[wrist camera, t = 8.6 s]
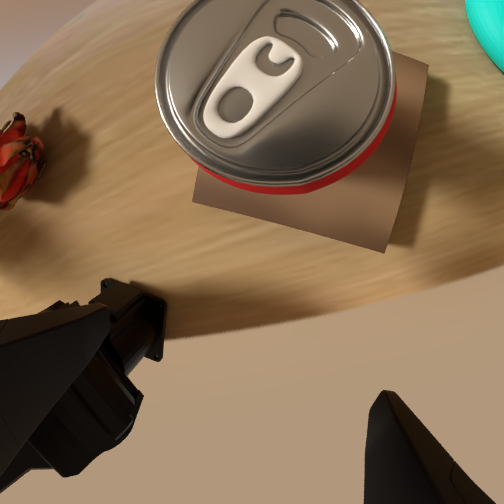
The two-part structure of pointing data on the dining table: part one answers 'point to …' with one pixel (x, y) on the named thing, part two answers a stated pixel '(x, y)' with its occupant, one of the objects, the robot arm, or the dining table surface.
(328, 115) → the beverage can
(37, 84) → the dining table surface
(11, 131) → the dragon fruit
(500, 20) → the donuts
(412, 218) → the dining table surface
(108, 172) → the dining table surface
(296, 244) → the dining table surface
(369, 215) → the walnut plinth
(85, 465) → the robot arm
